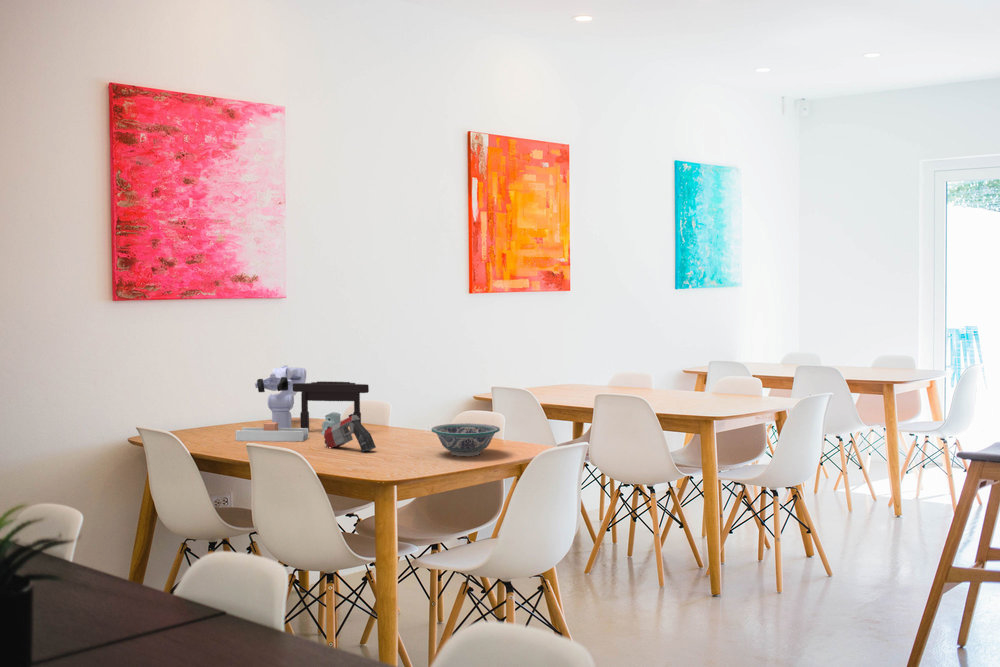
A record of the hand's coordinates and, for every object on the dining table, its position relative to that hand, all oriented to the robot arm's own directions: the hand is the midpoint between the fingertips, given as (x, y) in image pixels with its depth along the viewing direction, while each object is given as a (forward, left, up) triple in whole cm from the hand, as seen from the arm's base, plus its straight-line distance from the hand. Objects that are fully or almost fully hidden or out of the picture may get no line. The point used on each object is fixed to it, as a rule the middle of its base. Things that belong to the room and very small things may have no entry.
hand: (268, 389), depth 384 cm
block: (0, +1, -18) cm, 18 cm away
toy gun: (+20, +37, -21) cm, 47 cm away
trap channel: (0, +1, -20) cm, 20 cm away
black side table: (-21, +20, -20) cm, 35 cm away
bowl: (+27, +82, -20) cm, 88 cm away
